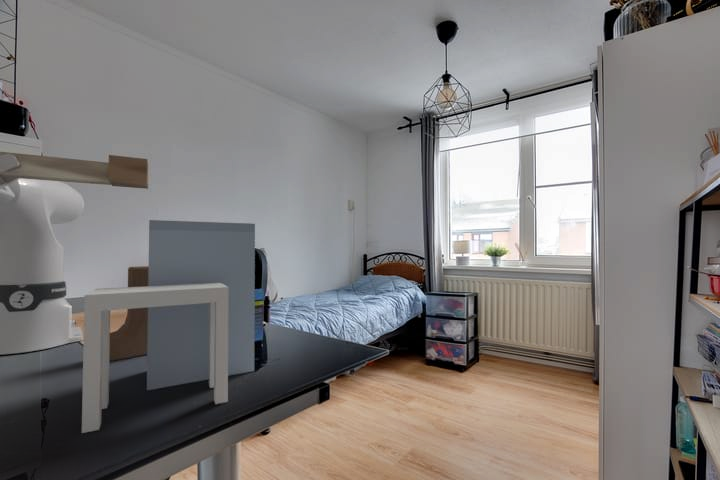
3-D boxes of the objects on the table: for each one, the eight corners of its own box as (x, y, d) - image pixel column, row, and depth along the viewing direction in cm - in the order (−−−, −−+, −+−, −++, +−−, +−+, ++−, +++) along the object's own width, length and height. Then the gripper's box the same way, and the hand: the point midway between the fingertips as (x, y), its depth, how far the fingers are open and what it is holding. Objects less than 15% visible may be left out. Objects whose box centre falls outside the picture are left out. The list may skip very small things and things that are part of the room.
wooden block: (102, 363, 64) (104, 268, 65) (99, 358, 67) (100, 267, 68) (156, 353, 70) (157, 266, 71) (151, 348, 73) (152, 266, 74)
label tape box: (254, 337, 83) (254, 287, 83) (264, 340, 80) (264, 288, 81) (220, 345, 76) (220, 290, 76) (229, 348, 73) (229, 291, 74)
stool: (94, 406, 46) (96, 288, 47) (219, 382, 54) (220, 282, 55) (81, 433, 39) (84, 295, 40) (227, 401, 47) (228, 287, 48)
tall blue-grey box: (149, 370, 60) (151, 224, 61) (242, 355, 68) (243, 227, 69) (146, 390, 51) (149, 219, 52) (254, 371, 59) (254, 223, 60)
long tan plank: (-26, 175, 48) (-26, 148, 48) (148, 188, 59) (148, 165, 59) (-45, 168, 44) (-44, 137, 44) (146, 183, 54) (147, 159, 54)
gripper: (-206, 164, 33) (-27, 118, 39) (-78, 195, 51) (32, 159, 57) (-156, 221, 34) (9, 168, 41) (-48, 232, 52) (56, 193, 58)
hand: (23, 163), depth 49 cm, fingers closed on long tan plank, 3 cm apart
